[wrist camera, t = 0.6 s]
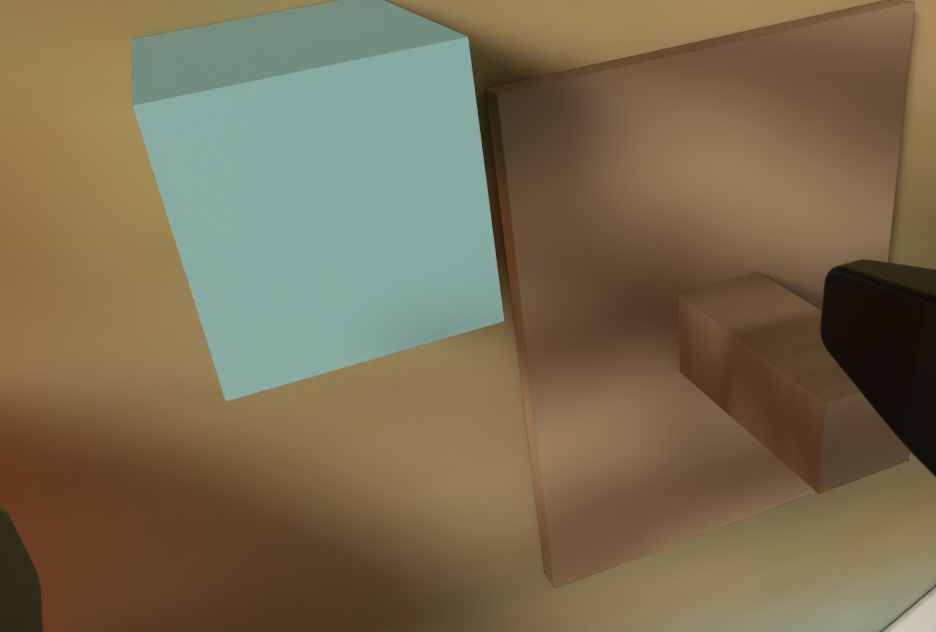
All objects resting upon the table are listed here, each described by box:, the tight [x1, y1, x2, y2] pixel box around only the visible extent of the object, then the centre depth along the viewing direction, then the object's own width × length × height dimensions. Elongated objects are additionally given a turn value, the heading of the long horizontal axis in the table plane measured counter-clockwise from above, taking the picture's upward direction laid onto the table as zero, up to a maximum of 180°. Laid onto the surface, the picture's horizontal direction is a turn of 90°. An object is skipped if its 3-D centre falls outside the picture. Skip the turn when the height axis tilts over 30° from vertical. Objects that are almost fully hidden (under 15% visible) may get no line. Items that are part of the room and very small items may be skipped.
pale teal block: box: [132, 0, 504, 401], centre depth 17 cm, size 5×5×7 cm
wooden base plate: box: [486, 0, 915, 589], centre depth 24 cm, size 16×12×7 cm
